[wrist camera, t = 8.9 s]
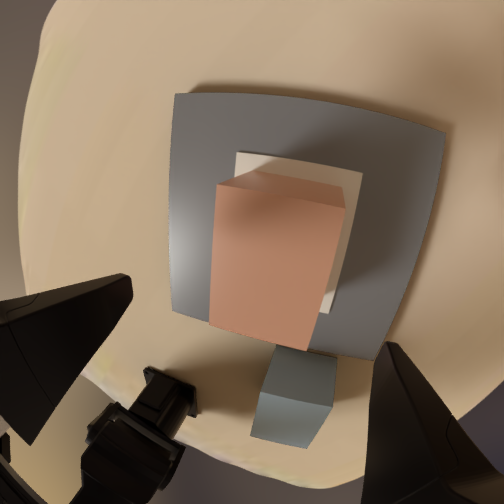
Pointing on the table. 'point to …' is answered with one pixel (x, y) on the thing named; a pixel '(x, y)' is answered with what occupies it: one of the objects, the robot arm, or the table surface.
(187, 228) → the baseplate
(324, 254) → the brick
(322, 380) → the brick
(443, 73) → the table surface
